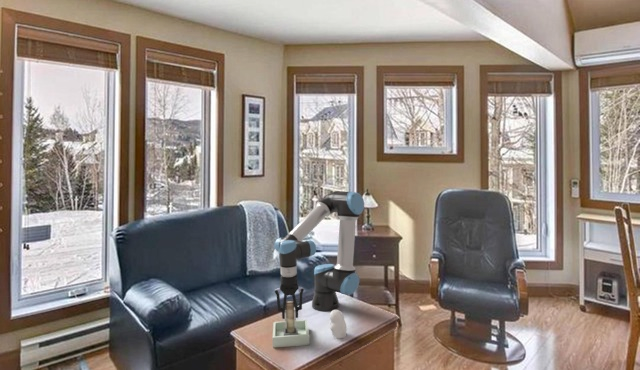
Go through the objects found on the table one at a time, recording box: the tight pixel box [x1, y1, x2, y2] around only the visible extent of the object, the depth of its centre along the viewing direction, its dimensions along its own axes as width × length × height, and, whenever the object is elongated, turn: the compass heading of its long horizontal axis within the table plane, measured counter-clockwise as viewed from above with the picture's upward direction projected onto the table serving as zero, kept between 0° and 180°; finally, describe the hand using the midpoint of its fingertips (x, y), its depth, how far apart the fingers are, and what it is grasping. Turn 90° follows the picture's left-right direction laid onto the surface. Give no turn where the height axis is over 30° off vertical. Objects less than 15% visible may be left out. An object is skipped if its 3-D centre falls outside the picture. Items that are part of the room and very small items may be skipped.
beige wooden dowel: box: [285, 300, 295, 333], centre depth 168 cm, size 4×4×14 cm
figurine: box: [329, 309, 347, 339], centre depth 169 cm, size 7×8×12 cm
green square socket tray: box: [272, 319, 310, 349], centre depth 168 cm, size 16×16×4 cm
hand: (290, 324), depth 168 cm, fingers closed on beige wooden dowel, 3 cm apart
